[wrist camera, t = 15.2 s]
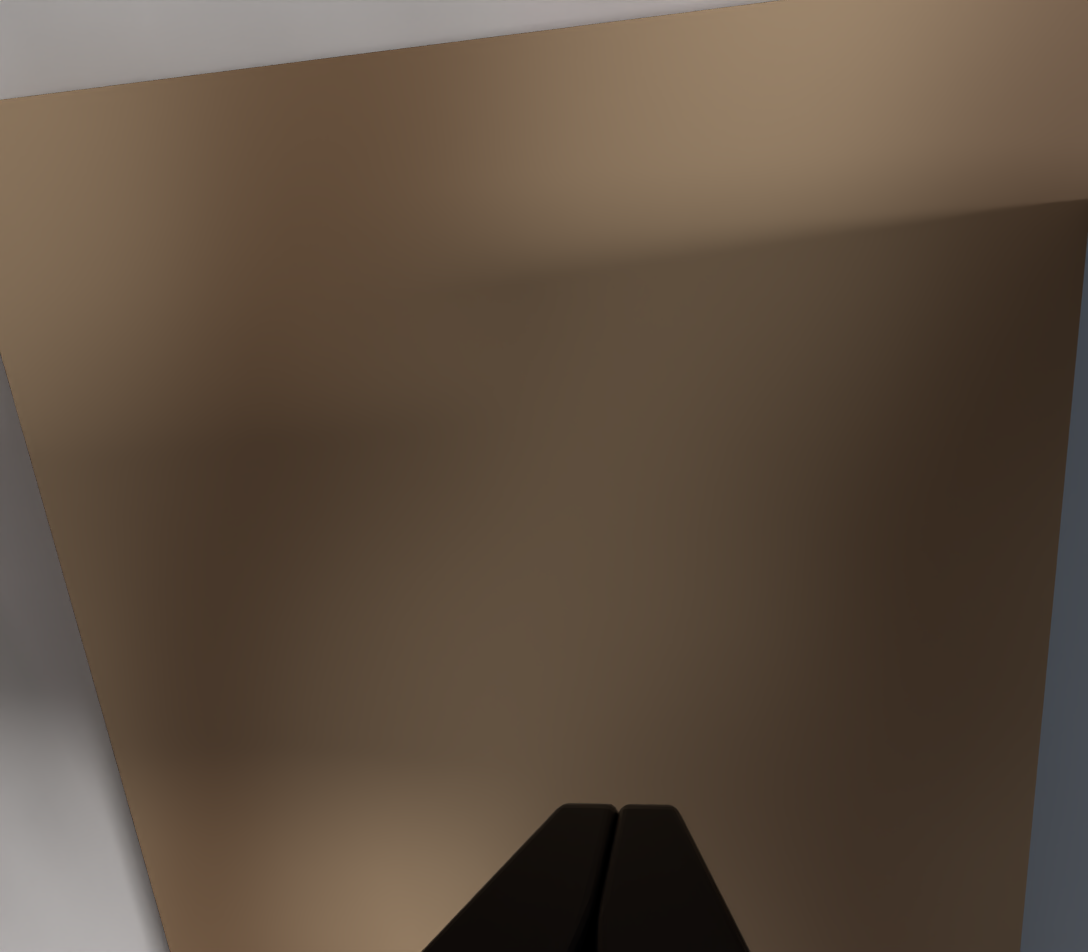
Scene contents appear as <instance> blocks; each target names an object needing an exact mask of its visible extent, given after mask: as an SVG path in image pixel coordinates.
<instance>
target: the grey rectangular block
mask: <svg viewBox="0 0 1088 952" xmlns="http://www.w3.org/2000/svg"><path fill="white" fill-rule="evenodd" d="M1020 952H1088V238H1087V248H1086V259H1085V270H1084V280H1083V291H1082V301H1081V312H1080V322H1079V333H1078V344H1077V354H1076V365H1075V375H1074V386H1073V396H1072V407H1071V418H1070V428H1069V439H1068V449H1067V460H1066V470H1065V481H1064V492H1063V502H1062V513H1061V523H1060V534H1059V544H1058V555H1057V566H1056V576H1055V587H1054V597H1053V608H1052V618H1051V629H1050V640H1049V650H1048V661H1047V671H1046V682H1045V692H1044V703H1043V713H1042V724H1041V735H1040V745H1039V756H1038V766H1037V777H1036V787H1035V798H1034V809H1033V819H1032V830H1031V840H1030V851H1029V861H1028V872H1027V883H1026V893H1025V904H1024V914H1023V925H1022V935H1021V946H1020Z"/></svg>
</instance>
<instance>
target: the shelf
mask: <svg viewBox="0 0 1088 952" xmlns="http://www.w3.org/2000/svg"><path fill="white" fill-rule="evenodd" d="M1087 238H1088V0H780V1H772V2H764V3H756V4H748V5H740V6H733V7H725V8H717V9H709V10H701V11H693V12H686V13H678V14H670V15H662V16H654V17H646V18H638V19H631V20H623V21H615V22H607V23H599V24H591V25H584V26H576V27H568V28H560V29H552V30H544V31H537V32H529V33H521V34H513V35H505V36H497V37H490V38H482V39H474V40H466V41H458V42H450V43H443V44H435V45H427V46H419V47H411V48H403V49H396V50H388V51H380V52H372V53H364V54H356V55H348V56H341V57H333V58H325V59H317V60H309V61H301V62H294V63H286V64H278V65H270V66H262V67H254V68H247V69H239V70H231V71H223V72H215V73H207V74H200V75H192V76H184V77H176V78H168V79H160V80H153V81H145V82H137V83H129V84H121V85H113V86H106V87H98V88H90V89H82V90H74V91H66V92H58V93H51V94H43V95H35V96H27V97H19V98H11V99H4V100H0V353H1V357H2V360H3V364H4V367H5V371H6V375H7V378H8V382H9V385H10V389H11V392H12V396H13V399H14V403H15V406H16V410H17V413H18V417H19V420H20V424H21V427H22V431H23V434H24V438H25V442H26V445H27V449H28V452H29V456H30V459H31V463H32V466H33V470H34V473H35V477H36V480H37V484H38V487H39V491H40V494H41V498H42V501H43V505H44V509H45V512H46V516H47V519H48V523H49V526H50V530H51V533H52V537H53V540H54V544H55V547H56V551H57V554H58V558H59V561H60V565H61V568H62V572H63V576H64V579H65V583H66V586H67V590H68V593H69V597H70V600H71V604H72V607H73V611H74V614H75V618H76V621H77V625H78V628H79V632H80V635H81V639H82V643H83V646H84V650H85V653H86V657H87V660H88V664H89V667H90V671H91V674H92V678H93V681H94V685H95V688H96V692H97V695H98V699H99V702H100V706H101V710H102V713H103V717H104V720H105V724H106V727H107V731H108V734H109V738H110V741H111V745H112V748H113V752H114V755H115V759H116V762H117V766H118V770H119V773H120V777H121V780H122V784H123V787H124V791H125V794H126V798H127V801H128V805H129V808H130V812H131V815H132V819H133V822H134V826H135V829H136V833H137V837H138V840H139V844H140V847H141V851H142V854H143V858H144V861H145V865H146V868H147V872H148V875H149V879H150V882H151V886H152V889H153V893H154V896H155V900H156V904H157V907H158V911H159V914H160V918H161V921H162V925H163V928H164V932H165V935H166V939H167V942H168V946H169V949H170V952H421V951H422V950H423V949H424V948H425V947H426V946H427V945H428V944H429V943H430V942H431V941H432V940H433V939H434V938H435V937H436V936H437V935H438V934H439V932H440V931H441V930H442V929H443V928H444V927H445V926H446V925H447V924H448V923H449V922H450V921H451V920H452V919H453V918H454V917H455V916H456V915H457V913H458V912H459V911H460V910H461V909H462V908H463V907H464V906H465V905H466V904H467V903H468V902H469V901H470V900H471V899H472V898H473V897H474V896H475V894H476V893H477V892H478V891H479V890H480V889H481V888H482V887H483V886H484V885H485V884H486V883H487V882H488V881H489V880H490V879H491V878H492V877H493V875H494V874H495V873H496V872H497V871H498V870H499V869H500V868H501V867H502V866H503V865H504V864H505V863H506V862H507V861H508V860H509V859H510V858H511V856H512V855H513V854H514V853H515V852H516V851H517V850H518V849H519V848H520V847H521V846H522V845H523V844H524V843H525V842H526V841H527V840H528V839H529V837H530V836H531V835H532V834H533V833H534V832H535V831H536V830H537V829H538V828H539V827H540V826H541V825H542V824H543V823H544V822H545V821H546V820H547V818H548V817H549V816H550V815H551V814H552V813H553V812H554V811H555V810H556V809H557V808H558V807H560V806H561V805H563V804H566V803H601V804H612V805H613V806H615V807H616V809H617V811H618V812H619V811H620V809H621V808H622V807H623V806H625V805H627V804H666V805H672V806H674V807H676V808H677V810H678V811H679V812H680V814H681V816H682V818H683V819H684V821H685V823H686V825H687V827H688V829H689V831H690V833H691V835H692V837H693V839H694V841H695V843H696V845H697V847H698V849H699V851H700V853H701V855H702V857H703V859H704V861H705V863H706V865H707V867H708V869H709V871H710V873H711V875H712V877H713V879H714V881H715V883H716V885H717V887H718V889H719V891H720V893H721V895H722V897H723V898H724V900H725V902H726V904H727V906H728V908H729V910H730V912H731V914H732V916H733V918H734V920H735V922H736V924H737V926H738V928H739V930H740V932H741V934H742V936H743V938H744V940H745V942H746V944H747V946H748V948H749V950H750V952H1020V946H1021V935H1022V925H1023V914H1024V904H1025V893H1026V883H1027V872H1028V861H1029V851H1030V840H1031V830H1032V819H1033V809H1034V798H1035V787H1036V777H1037V766H1038V756H1039V745H1040V735H1041V724H1042V713H1043V703H1044V692H1045V682H1046V671H1047V661H1048V650H1049V640H1050V629H1051V618H1052V608H1053V597H1054V587H1055V576H1056V566H1057V555H1058V544H1059V534H1060V523H1061V513H1062V502H1063V492H1064V481H1065V470H1066V460H1067V449H1068V439H1069V428H1070V418H1071V407H1072V396H1073V386H1074V375H1075V365H1076V354H1077V344H1078V333H1079V322H1080V312H1081V301H1082V291H1083V280H1084V270H1085V259H1086V248H1087Z"/></svg>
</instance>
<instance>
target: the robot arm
mask: <svg viewBox="0 0 1088 952" xmlns="http://www.w3.org/2000/svg"><path fill="white" fill-rule="evenodd" d="M421 952H750V950H749V948H748V946H747V944H746V942H745V940H744V938H743V936H742V934H741V932H740V930H739V928H738V926H737V924H736V922H735V920H734V918H733V916H732V914H731V912H730V910H729V908H728V906H727V904H726V902H725V900H724V898H723V897H722V895H721V893H720V891H719V889H718V887H717V885H716V883H715V881H714V879H713V877H712V875H711V873H710V871H709V869H708V867H707V865H706V863H705V861H704V859H703V857H702V855H701V853H700V851H699V849H698V847H697V845H696V843H695V841H694V839H693V837H692V835H691V833H690V831H689V829H688V827H687V825H686V823H685V821H684V819H683V818H682V816H681V814H680V812H679V811H678V810H677V808H676V807H674V806H672V805H666V804H627V805H625V806H623V807H622V808H621V809H620V811H619V812H618V811H617V809H616V807H615V806H613V805H612V804H601V803H566V804H563V805H561V806H560V807H558V808H557V809H556V810H555V811H554V812H553V813H552V814H551V815H550V816H549V817H548V818H547V820H546V821H545V822H544V823H543V824H542V825H541V826H540V827H539V828H538V829H537V830H536V831H535V832H534V833H533V834H532V835H531V836H530V837H529V839H528V840H527V841H526V842H525V843H524V844H523V845H522V846H521V847H520V848H519V849H518V850H517V851H516V852H515V853H514V854H513V855H512V856H511V858H510V859H509V860H508V861H507V862H506V863H505V864H504V865H503V866H502V867H501V868H500V869H499V870H498V871H497V872H496V873H495V874H494V875H493V877H492V878H491V879H490V880H489V881H488V882H487V883H486V884H485V885H484V886H483V887H482V888H481V889H480V890H479V891H478V892H477V893H476V894H475V896H474V897H473V898H472V899H471V900H470V901H469V902H468V903H467V904H466V905H465V906H464V907H463V908H462V909H461V910H460V911H459V912H458V913H457V915H456V916H455V917H454V918H453V919H452V920H451V921H450V922H449V923H448V924H447V925H446V926H445V927H444V928H443V929H442V930H441V931H440V932H439V934H438V935H437V936H436V937H435V938H434V939H433V940H432V941H431V942H430V943H429V944H428V945H427V946H426V947H425V948H424V949H423V950H422V951H421Z"/></svg>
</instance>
